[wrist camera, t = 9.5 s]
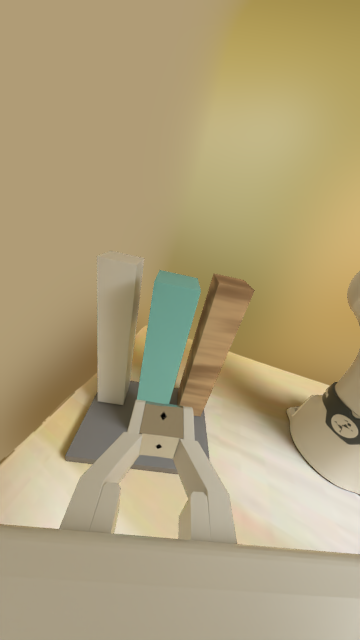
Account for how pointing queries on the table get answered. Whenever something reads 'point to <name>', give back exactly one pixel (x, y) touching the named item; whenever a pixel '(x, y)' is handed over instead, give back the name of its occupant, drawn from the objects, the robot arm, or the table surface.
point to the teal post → (167, 334)
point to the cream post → (116, 322)
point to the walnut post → (213, 339)
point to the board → (112, 421)
